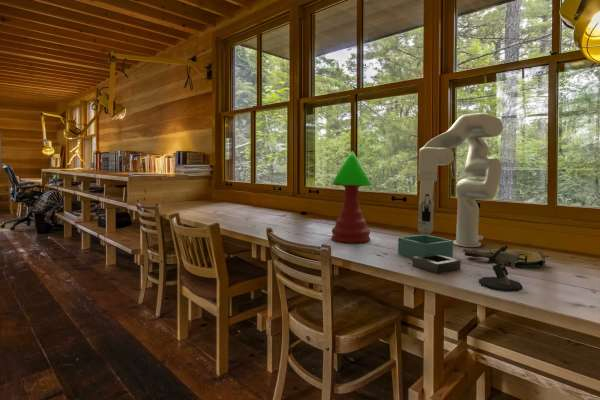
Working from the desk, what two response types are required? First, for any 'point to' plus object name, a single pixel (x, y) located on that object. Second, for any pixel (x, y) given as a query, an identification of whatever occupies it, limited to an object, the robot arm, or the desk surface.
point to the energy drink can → (425, 226)
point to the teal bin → (424, 246)
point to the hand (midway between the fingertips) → (425, 219)
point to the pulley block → (533, 258)
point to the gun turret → (500, 270)
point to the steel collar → (436, 263)
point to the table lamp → (351, 203)
